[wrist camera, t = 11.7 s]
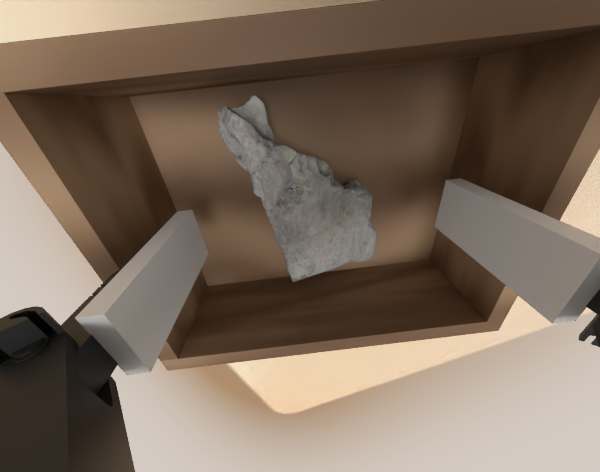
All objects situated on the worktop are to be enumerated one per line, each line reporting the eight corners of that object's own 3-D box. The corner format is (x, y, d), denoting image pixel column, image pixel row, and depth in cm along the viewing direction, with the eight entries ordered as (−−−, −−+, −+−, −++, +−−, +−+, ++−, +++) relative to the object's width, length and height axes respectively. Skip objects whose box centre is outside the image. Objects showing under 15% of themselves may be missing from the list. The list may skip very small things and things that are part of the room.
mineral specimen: (336, 72, 12) (363, 46, 8) (376, 252, 17) (404, 288, 14) (226, 116, 13) (203, 111, 9) (297, 278, 18) (302, 320, 14)
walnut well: (111, 76, 12) (-66, 51, 6) (490, 33, 12) (701, -36, 6) (203, 287, 19) (167, 370, 13) (432, 260, 20) (498, 330, 14)
